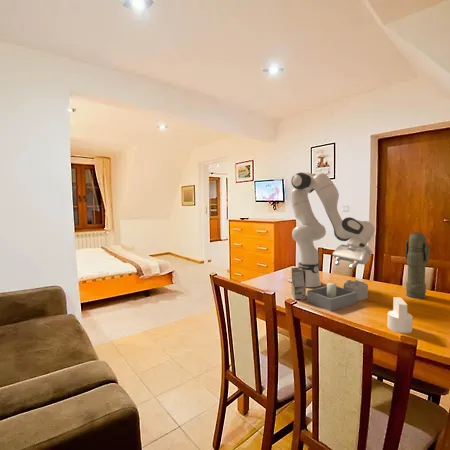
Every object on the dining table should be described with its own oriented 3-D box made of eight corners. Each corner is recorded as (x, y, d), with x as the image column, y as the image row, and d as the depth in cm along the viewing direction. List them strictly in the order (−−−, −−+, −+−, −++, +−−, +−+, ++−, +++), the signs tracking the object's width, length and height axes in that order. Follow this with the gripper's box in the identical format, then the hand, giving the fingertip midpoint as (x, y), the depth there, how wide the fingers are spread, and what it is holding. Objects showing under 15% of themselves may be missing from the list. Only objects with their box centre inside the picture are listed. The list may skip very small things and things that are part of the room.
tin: (324, 300, 154) (325, 283, 154) (330, 298, 157) (331, 282, 156) (332, 302, 151) (332, 286, 150) (337, 301, 153) (338, 284, 152)
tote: (307, 301, 156) (307, 290, 156) (332, 294, 165) (332, 284, 165) (330, 311, 142) (330, 299, 142) (356, 303, 151) (356, 292, 151)
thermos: (423, 300, 152) (426, 235, 148) (400, 294, 162) (401, 233, 158) (431, 297, 156) (433, 233, 153) (408, 291, 166) (410, 231, 163)
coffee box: (306, 299, 159) (306, 271, 158) (294, 299, 160) (294, 271, 158) (302, 294, 168) (302, 267, 167) (291, 294, 169) (290, 267, 167)
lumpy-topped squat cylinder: (370, 297, 159) (370, 282, 158) (353, 302, 154) (353, 286, 153) (354, 292, 168) (355, 277, 168) (338, 296, 163) (338, 281, 162)
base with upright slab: (385, 322, 128) (385, 296, 127) (408, 324, 125) (408, 297, 124) (390, 331, 119) (390, 303, 118) (415, 334, 117) (416, 305, 116)
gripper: (337, 240, 168) (325, 259, 164) (369, 245, 150) (356, 266, 146) (342, 247, 170) (331, 266, 167) (375, 253, 152) (362, 274, 149)
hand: (343, 266), depth 156 cm, fingers open, 8 cm apart
